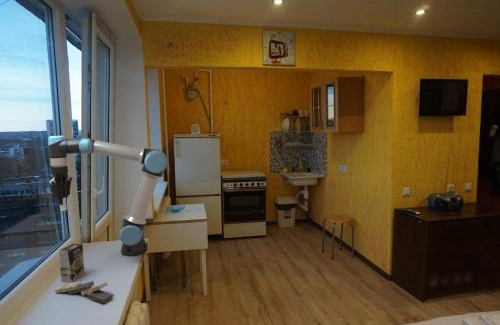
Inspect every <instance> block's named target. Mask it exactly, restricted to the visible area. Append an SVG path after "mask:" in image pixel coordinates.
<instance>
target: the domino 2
mask: <svg viewBox="0 0 500 325" xmlns="http://www.w3.org/2000/svg"><path fill="white" fill-rule="evenodd" d="M93 286H95V282H94V281H93V280H92V281H89V282H85V283H82V284H81V285H80V286H79V287H77V288H76V289H75V290H71V291H67V293H68V295H72V294H73V295H74V294H77V293H81V292H82V291H85V290H88V289H89V288H90V287H93Z"/></svg>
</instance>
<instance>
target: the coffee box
mask: <svg viewBox="0 0 500 325" xmlns="http://www.w3.org/2000/svg"><path fill="white" fill-rule="evenodd" d="M83 245H84V244H82V243H71V244H69V245H67V246H65V247H63V248H61V249H58V253H59V254H58V255H59V265H60V266H59V267H60V277H61V278H60V279H61V282H67V283H74V282H76V281H77V279H79V278H81V277H82V276H84V275H85V262H84V259H85V258H84V248H83V247H84V246H83Z"/></svg>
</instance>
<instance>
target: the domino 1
mask: <svg viewBox="0 0 500 325" xmlns="http://www.w3.org/2000/svg"><path fill="white" fill-rule="evenodd" d="M81 284H83V283H82V281H81V280H79V281H73V282H68V283H65V284H63V285H61V286H59V287H57V288H56V289H54V292H55V294H60V293H65V292H68V291H71V290H75V289H76V288H77V287H79V286H80V285H81Z"/></svg>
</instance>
